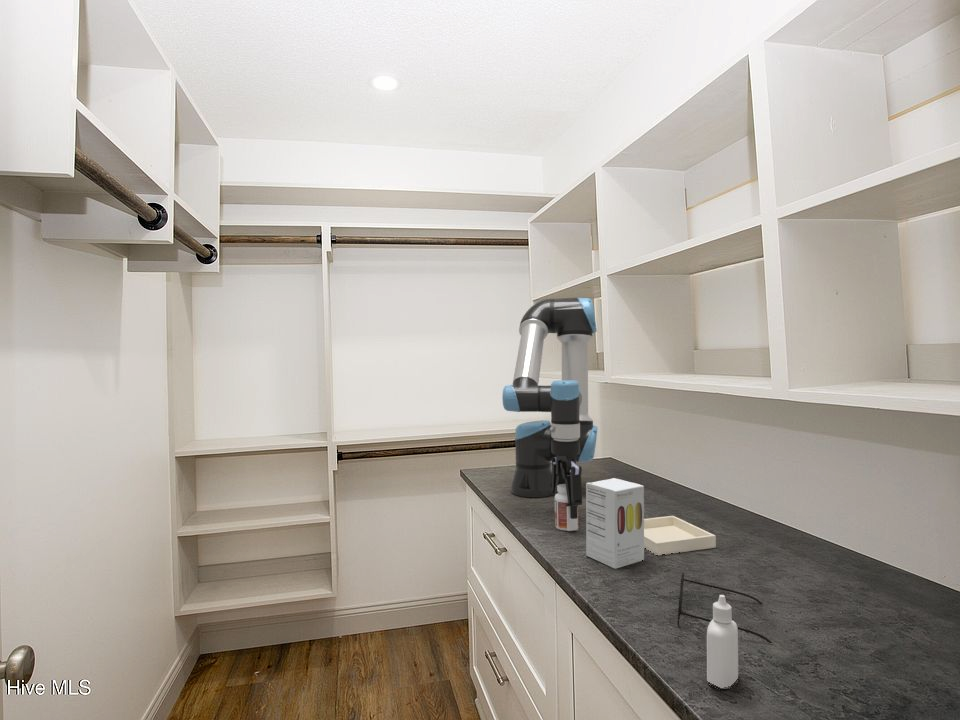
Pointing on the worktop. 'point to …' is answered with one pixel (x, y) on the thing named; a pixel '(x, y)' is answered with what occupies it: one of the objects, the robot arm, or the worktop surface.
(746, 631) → the glasses
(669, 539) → the tray
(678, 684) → the worktop surface
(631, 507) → the supplement box
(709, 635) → the eye dropper bottle
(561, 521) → the pill bottle
